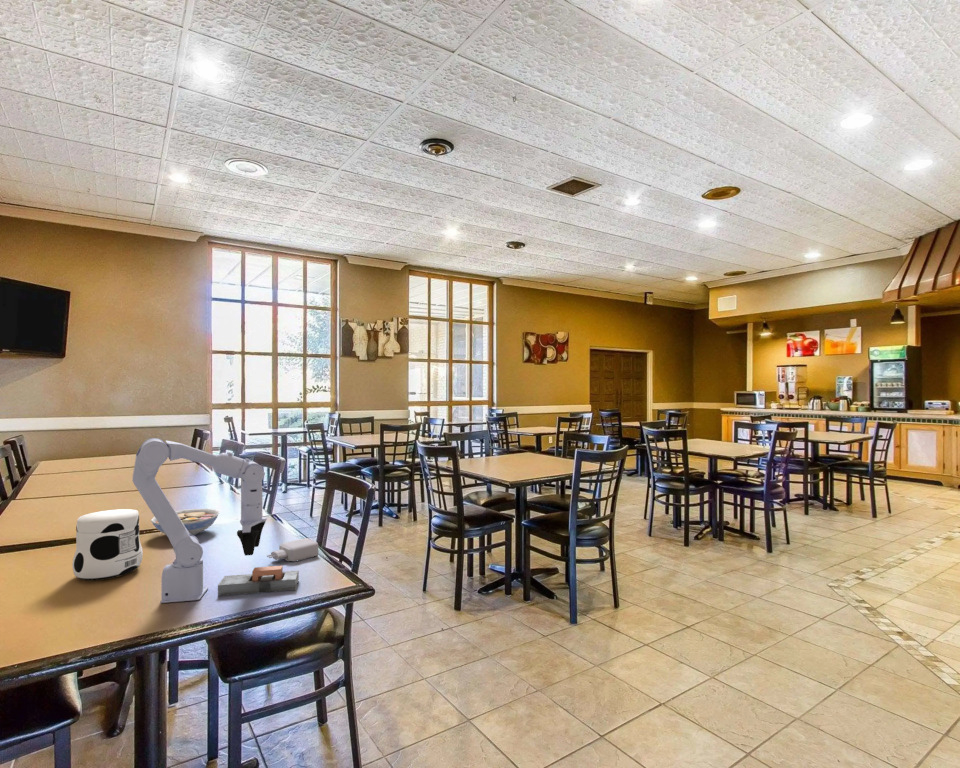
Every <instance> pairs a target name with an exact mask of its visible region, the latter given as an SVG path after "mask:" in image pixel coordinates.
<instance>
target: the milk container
mask: <svg viewBox="0 0 960 768" xmlns="http://www.w3.org/2000/svg"><path fill="white" fill-rule="evenodd" d="M75 531H76V532H75V533H76V534H75V539H76V540H75V541H76V544H75V545H76V546H75V547H76V548H75V552H74V555H73V558H72V562H71V563H72V571H73V575H74V577H76V578H77V579H79V580H83V581H102V580H104V581H105V580H109V579H115V578H118V577H122V576H125V575H127V574H130V573H132V572H134V571H135V570H137V569H138V568H139V567H140V566H141V564H142V561H143V557H144V555H143V554H144V553H143V547H142V544H141V540H140V515H139V510H137V509H130V508H126V509H125V508H120V509H108V510H100V511H95V512H90V513H87V514H83V515H81V516H79V517H78V518H77V520H76V527H75Z"/></svg>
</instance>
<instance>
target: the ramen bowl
mask: <svg viewBox="0 0 960 768" xmlns="http://www.w3.org/2000/svg"><path fill="white" fill-rule="evenodd" d="M175 512H176V513H177V515H178V516H179V518H180V520H181V521H182V523H183V524H184V526H185V527H186V529H187V530H188V532H189V533H190V534H191V535H193V536H196V535H198V534H199V533H201V532H203V531H205V530H208V529H209V528H210V527H212V525H213V524H214V523H215V521H216V520H217V518H218V516H219V514H220V511H218V510H216V509H212V508H192V509H189V508H188V509H180V510H175ZM150 521H151V524H152V525H153V526H154V527H155V529H157V530H158V531H159V532H160V533H162V534H164V535H166V533H165V532H164V530H163V529H162V527H161V526H160V524H159V522H158V521H157V519H156V518H155V516H154V517H152V518H151V520H150Z"/></svg>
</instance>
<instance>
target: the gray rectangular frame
mask: <svg viewBox="0 0 960 768" xmlns="http://www.w3.org/2000/svg"><path fill="white" fill-rule="evenodd" d="M299 571H300V570H290V571H289V570H287V571H283V579H275V575H269V576H260V580H259V581H252V573H246V574H236V575H235V574H234V575H224V576H223V578H222V579H221V580H220V582H219V583H218V584H217V597H227V596H239V595H240V596H241V595H251V594H252V595H253V594H262V593H263V594H264V593H275V592H274V591H277V592H285V591H284V590H290V591H296V590H295V589H297V587H298V584H297V583H299V581H298V580H300V579H299V577H300V575H299V573H300V572H299ZM296 586H297V587H296Z"/></svg>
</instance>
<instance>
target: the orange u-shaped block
mask: <svg viewBox="0 0 960 768" xmlns="http://www.w3.org/2000/svg"><path fill="white" fill-rule="evenodd" d="M283 568H284V567H283V565H273V566H258V567H254V568H253V570H252V573H251V574H252V581H259V580H260V576H269V575H275V579H283V572H284V571H283Z"/></svg>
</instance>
